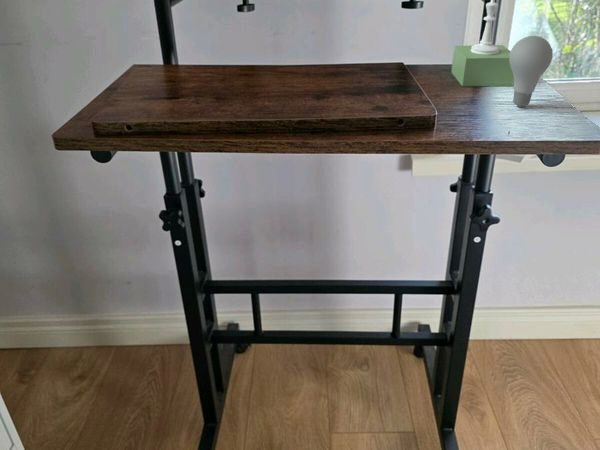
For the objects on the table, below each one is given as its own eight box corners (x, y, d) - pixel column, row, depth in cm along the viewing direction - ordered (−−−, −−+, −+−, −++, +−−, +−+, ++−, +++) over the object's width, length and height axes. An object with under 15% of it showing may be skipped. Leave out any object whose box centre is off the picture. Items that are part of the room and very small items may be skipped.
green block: (512, 85, 95) (518, 57, 92) (462, 86, 95) (466, 58, 93) (498, 71, 103) (502, 45, 100) (451, 72, 103) (454, 45, 100)
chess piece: (486, 56, 93) (495, -5, 88) (464, 50, 97) (473, -9, 92) (504, 52, 96) (515, -9, 90) (483, 46, 99) (492, -12, 94)
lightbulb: (516, 98, 89) (529, 30, 84) (548, 108, 85) (565, 36, 79) (492, 105, 87) (504, 35, 81) (524, 116, 82) (540, 43, 76)
